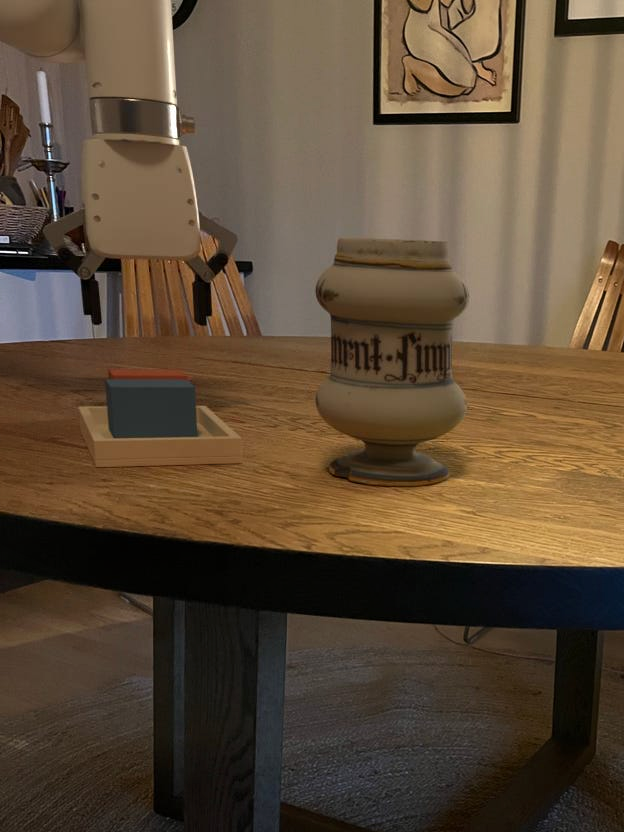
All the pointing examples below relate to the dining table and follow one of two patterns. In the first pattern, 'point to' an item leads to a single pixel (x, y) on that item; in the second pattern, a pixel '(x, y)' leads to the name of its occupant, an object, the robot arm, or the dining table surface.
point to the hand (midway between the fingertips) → (149, 324)
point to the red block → (147, 374)
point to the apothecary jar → (391, 356)
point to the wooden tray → (160, 443)
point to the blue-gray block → (151, 408)
